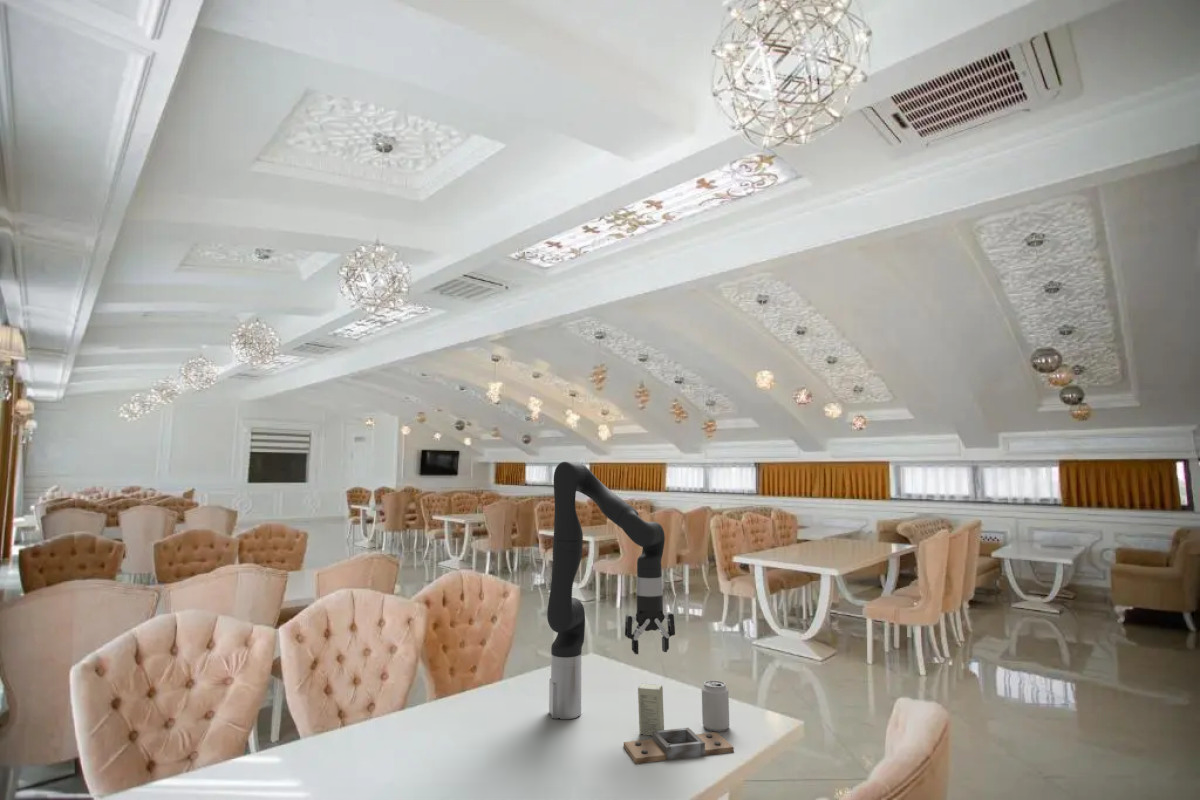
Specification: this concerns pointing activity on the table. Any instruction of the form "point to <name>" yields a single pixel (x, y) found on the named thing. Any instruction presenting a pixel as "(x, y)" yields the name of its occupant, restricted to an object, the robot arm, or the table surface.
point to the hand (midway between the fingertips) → (650, 652)
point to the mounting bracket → (676, 745)
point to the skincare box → (650, 708)
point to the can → (715, 705)
